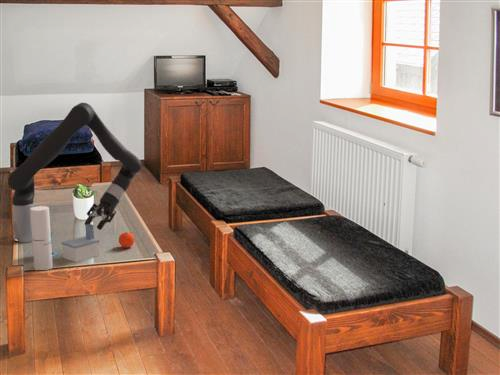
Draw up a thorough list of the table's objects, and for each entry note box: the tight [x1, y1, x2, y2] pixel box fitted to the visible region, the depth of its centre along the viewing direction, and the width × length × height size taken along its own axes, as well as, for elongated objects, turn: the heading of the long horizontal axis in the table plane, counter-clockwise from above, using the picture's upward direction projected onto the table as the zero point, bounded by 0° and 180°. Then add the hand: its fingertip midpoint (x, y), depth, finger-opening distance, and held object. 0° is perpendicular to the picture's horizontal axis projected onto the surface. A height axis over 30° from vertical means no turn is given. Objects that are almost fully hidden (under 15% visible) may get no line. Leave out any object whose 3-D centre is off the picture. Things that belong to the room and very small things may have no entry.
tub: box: [61, 241, 100, 263], centre depth 319 cm, size 12×9×6 cm
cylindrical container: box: [30, 205, 54, 271], centre depth 302 cm, size 7×7×25 cm
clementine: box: [118, 231, 135, 249], centre depth 333 cm, size 8×7×7 cm
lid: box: [61, 223, 100, 248], centre depth 318 cm, size 12×9×8 cm
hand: (92, 227), depth 322 cm, fingers open, 8 cm apart
